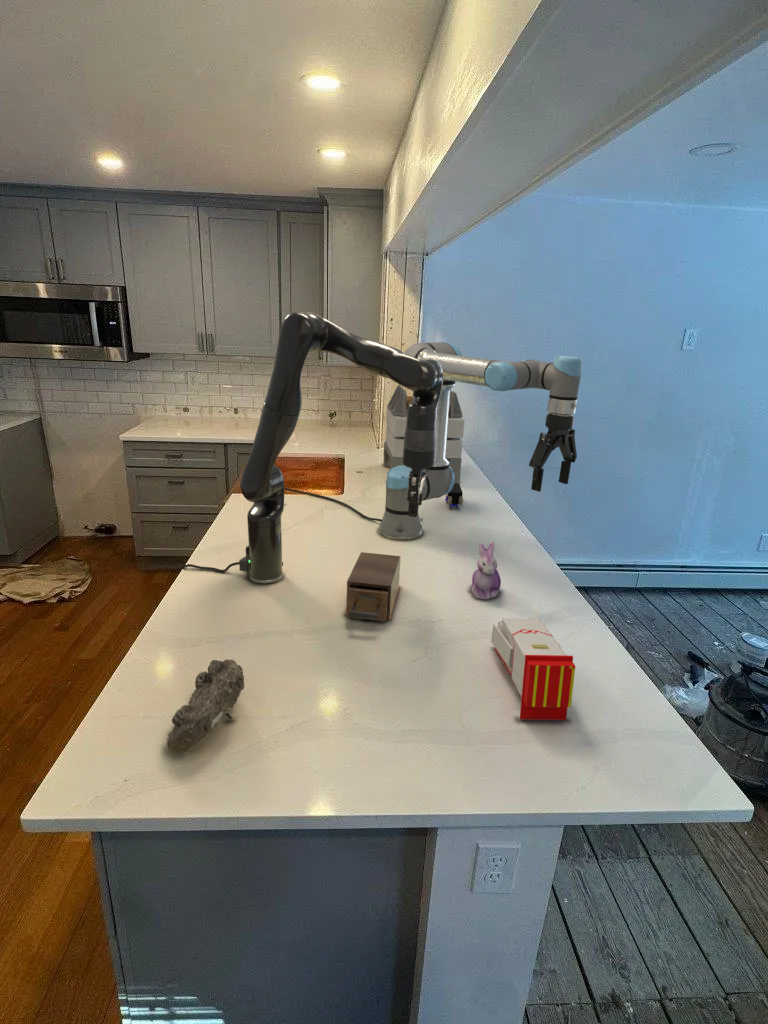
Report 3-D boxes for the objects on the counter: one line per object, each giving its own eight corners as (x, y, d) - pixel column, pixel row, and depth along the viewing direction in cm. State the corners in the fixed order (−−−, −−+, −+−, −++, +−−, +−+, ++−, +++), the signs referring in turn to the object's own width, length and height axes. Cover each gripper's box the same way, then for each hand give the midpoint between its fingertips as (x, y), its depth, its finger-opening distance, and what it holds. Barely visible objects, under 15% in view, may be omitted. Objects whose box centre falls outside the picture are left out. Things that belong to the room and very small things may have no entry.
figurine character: (463, 514, 226) (458, 498, 239) (465, 496, 223) (460, 481, 236) (446, 513, 226) (442, 497, 239) (448, 496, 222) (444, 481, 236)
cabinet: (389, 620, 144) (391, 585, 141) (346, 615, 146) (347, 581, 143) (398, 587, 162) (400, 556, 158) (360, 583, 163) (360, 552, 160)
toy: (537, 603, 136) (584, 662, 106) (532, 655, 138) (577, 726, 109) (487, 602, 135) (520, 661, 106) (483, 654, 138) (514, 725, 109)
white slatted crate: (382, 463, 289) (386, 382, 275) (445, 464, 293) (451, 384, 279) (390, 482, 257) (394, 392, 243) (460, 483, 261) (468, 394, 247)
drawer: (382, 633, 137) (383, 605, 134) (341, 628, 138) (342, 600, 135) (395, 590, 158) (396, 564, 155) (359, 586, 159) (360, 560, 157)
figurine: (482, 603, 154) (488, 553, 149) (461, 587, 163) (466, 539, 158) (510, 597, 158) (516, 547, 153) (487, 581, 167) (493, 534, 162)
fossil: (192, 660, 117) (244, 628, 112) (224, 691, 120) (276, 661, 115) (142, 746, 98) (202, 712, 93) (182, 779, 101) (242, 748, 96)
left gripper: (408, 438, 142) (404, 500, 147) (399, 451, 128) (395, 518, 134) (437, 441, 140) (432, 503, 146) (432, 454, 127) (426, 522, 133)
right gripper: (545, 420, 148) (534, 497, 155) (596, 412, 163) (584, 483, 170) (522, 415, 153) (512, 490, 160) (573, 408, 169) (563, 477, 176)
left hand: (414, 510), depth 140 cm, fingers open, 8 cm apart
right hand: (549, 486), depth 165 cm, fingers open, 13 cm apart
